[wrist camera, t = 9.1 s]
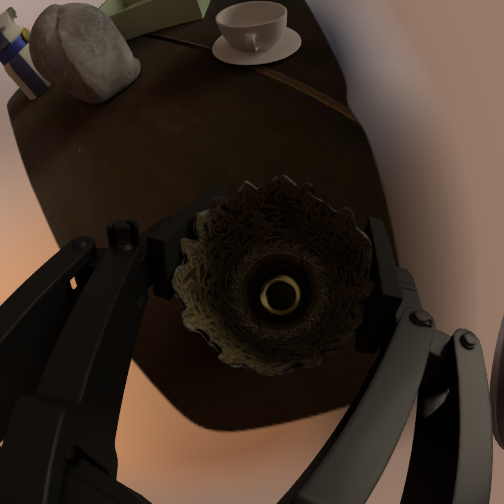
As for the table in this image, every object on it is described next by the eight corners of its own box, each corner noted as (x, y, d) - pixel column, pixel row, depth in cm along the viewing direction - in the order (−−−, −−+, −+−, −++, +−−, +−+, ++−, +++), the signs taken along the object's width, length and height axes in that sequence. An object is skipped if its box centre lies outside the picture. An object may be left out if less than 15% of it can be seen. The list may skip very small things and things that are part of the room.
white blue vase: (62, 61, 34) (4, -17, 10) (60, 78, 32) (-9, -11, 8) (31, 87, 34) (-30, 16, 10) (26, 107, 31) (-47, 29, 8)
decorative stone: (157, 88, 25) (98, -19, 11) (79, 142, 25) (-2, 58, 10) (130, 48, 30) (89, -25, 15) (72, 87, 29) (21, 24, 15)
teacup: (219, 31, 27) (211, 3, 23) (298, 25, 26) (296, -4, 21) (207, 73, 24) (195, 39, 20) (304, 66, 23) (303, 30, 19)
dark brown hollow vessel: (363, 290, 17) (412, 259, 9) (284, 379, 16) (277, 417, 8) (276, 217, 19) (264, 145, 11) (200, 298, 18) (137, 274, 10)
